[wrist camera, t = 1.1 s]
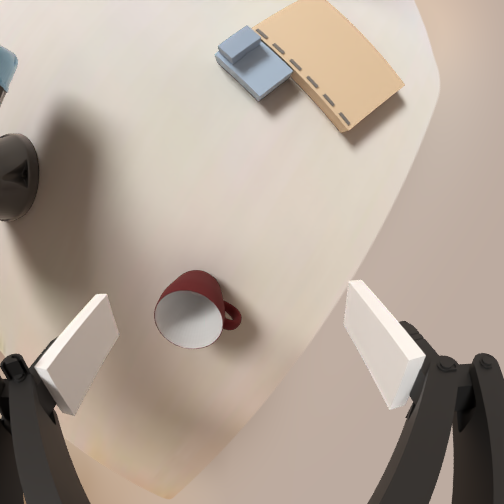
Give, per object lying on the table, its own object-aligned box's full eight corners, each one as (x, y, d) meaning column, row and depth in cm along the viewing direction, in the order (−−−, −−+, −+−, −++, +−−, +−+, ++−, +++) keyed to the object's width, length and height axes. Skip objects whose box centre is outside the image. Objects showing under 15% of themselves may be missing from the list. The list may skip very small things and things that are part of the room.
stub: (216, 62, 30) (212, 46, 24) (247, 39, 29) (248, 21, 23) (258, 101, 32) (261, 91, 26) (289, 77, 31) (296, 64, 25)
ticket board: (249, 38, 29) (249, 28, 26) (311, 1, 26) (316, -9, 23) (340, 132, 33) (349, 130, 30) (394, 88, 31) (405, 84, 28)
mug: (252, 274, 39) (255, 310, 30) (233, 320, 42) (231, 363, 32) (181, 249, 38) (161, 279, 28) (167, 297, 40) (148, 335, 31)
